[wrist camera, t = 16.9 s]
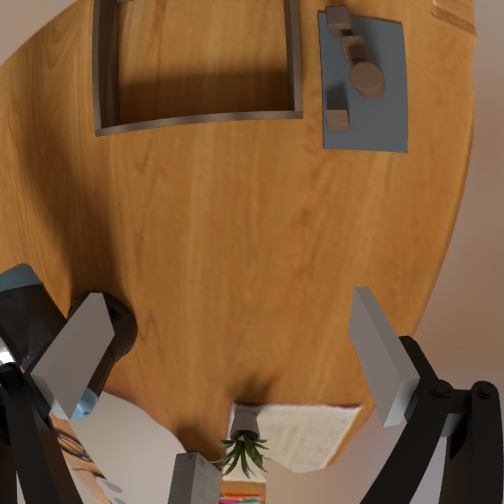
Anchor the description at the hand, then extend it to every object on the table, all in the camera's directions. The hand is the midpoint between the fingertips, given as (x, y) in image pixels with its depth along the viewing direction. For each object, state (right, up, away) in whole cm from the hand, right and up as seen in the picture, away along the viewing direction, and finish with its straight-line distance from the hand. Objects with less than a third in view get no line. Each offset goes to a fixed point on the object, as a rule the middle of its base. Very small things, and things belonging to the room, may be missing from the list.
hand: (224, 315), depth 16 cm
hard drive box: (-15, -61, +64) cm, 90 cm away
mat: (+19, +29, +25) cm, 43 cm away
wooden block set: (+16, +30, +24) cm, 42 cm away
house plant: (-2, -37, +54) cm, 65 cm away
